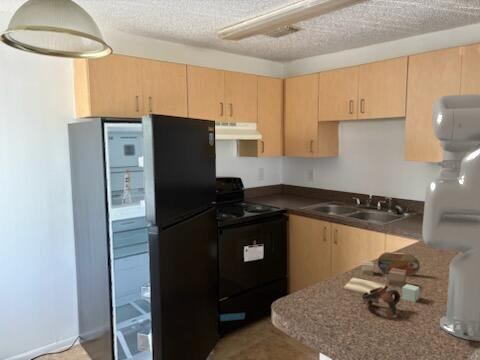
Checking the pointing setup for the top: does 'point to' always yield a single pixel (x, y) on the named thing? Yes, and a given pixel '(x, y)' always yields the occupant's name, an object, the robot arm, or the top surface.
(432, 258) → the top surface
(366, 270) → the maple block
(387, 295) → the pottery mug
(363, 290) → the plate
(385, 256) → the tin
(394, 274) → the walnut block
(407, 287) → the sage block
